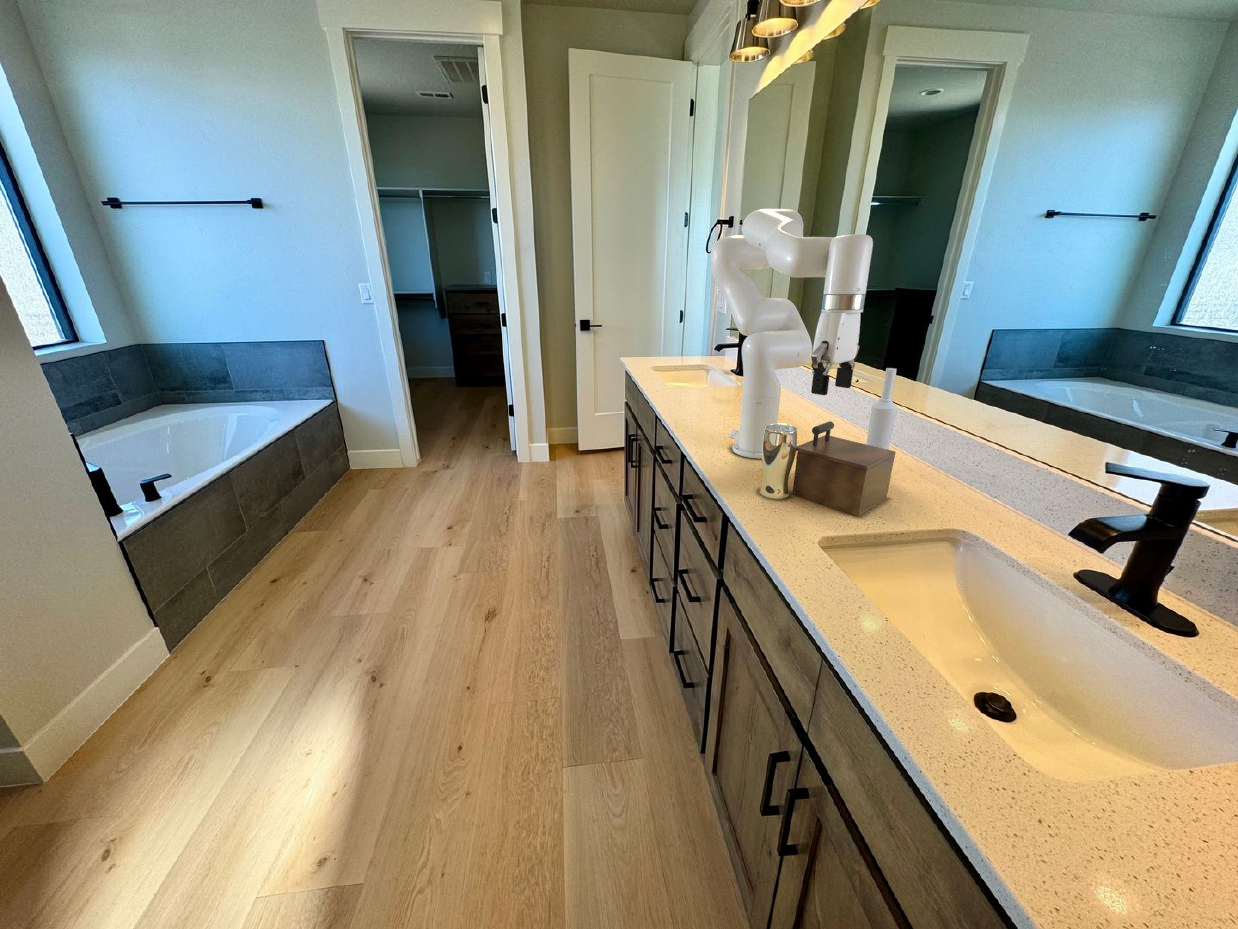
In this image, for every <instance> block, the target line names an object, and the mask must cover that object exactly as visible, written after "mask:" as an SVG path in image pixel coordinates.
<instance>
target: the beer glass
mask: <svg viewBox="0 0 1238 929" xmlns="http://www.w3.org/2000/svg"><path fill="white" fill-rule="evenodd" d="M798 430H799V429H798V427H796V426H795V425H791V424H787V423H777V424H769V425H766V426H765V430H764V436H763V442H762V459H761V460H762V472H763V475H762V476H763V478H762V483H761V485H760V486H761V487H760V490H759V493H760V494H761V495H762V496H763V497H765V498H768V499H772V500H782V499H786V498H788V497H789V496H790V488H789V487H790V486H789V480H790V475H791V471H792V468H793V466H794V462H795V460H796V456H797V451H796V449H797V446H798Z"/></svg>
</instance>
